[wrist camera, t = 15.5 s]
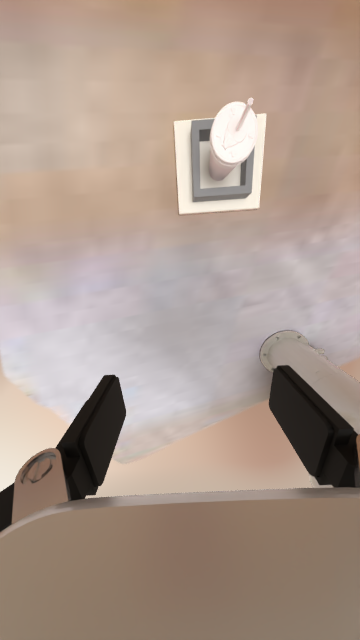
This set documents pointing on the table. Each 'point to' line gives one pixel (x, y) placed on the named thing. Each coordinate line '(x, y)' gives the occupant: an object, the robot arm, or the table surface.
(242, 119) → the smoothie
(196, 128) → the socket board
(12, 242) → the table surface
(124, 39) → the table surface
